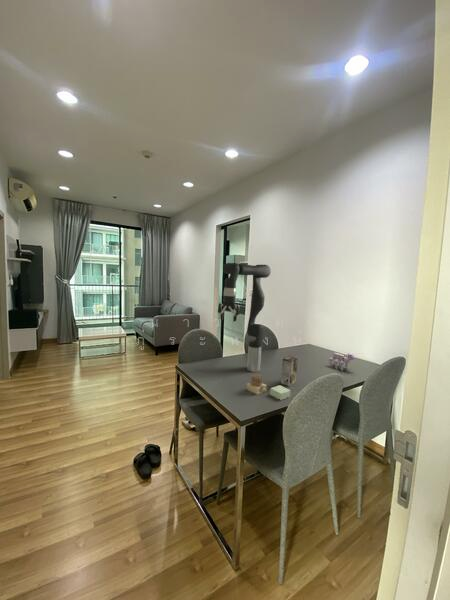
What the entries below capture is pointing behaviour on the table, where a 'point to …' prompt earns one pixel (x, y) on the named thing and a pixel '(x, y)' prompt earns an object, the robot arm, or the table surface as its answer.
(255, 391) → the oak base block
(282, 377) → the coffee box
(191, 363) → the table surface
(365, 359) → the table surface
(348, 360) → the toy sheep
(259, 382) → the walnut cube
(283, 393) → the sage base block
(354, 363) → the table surface
